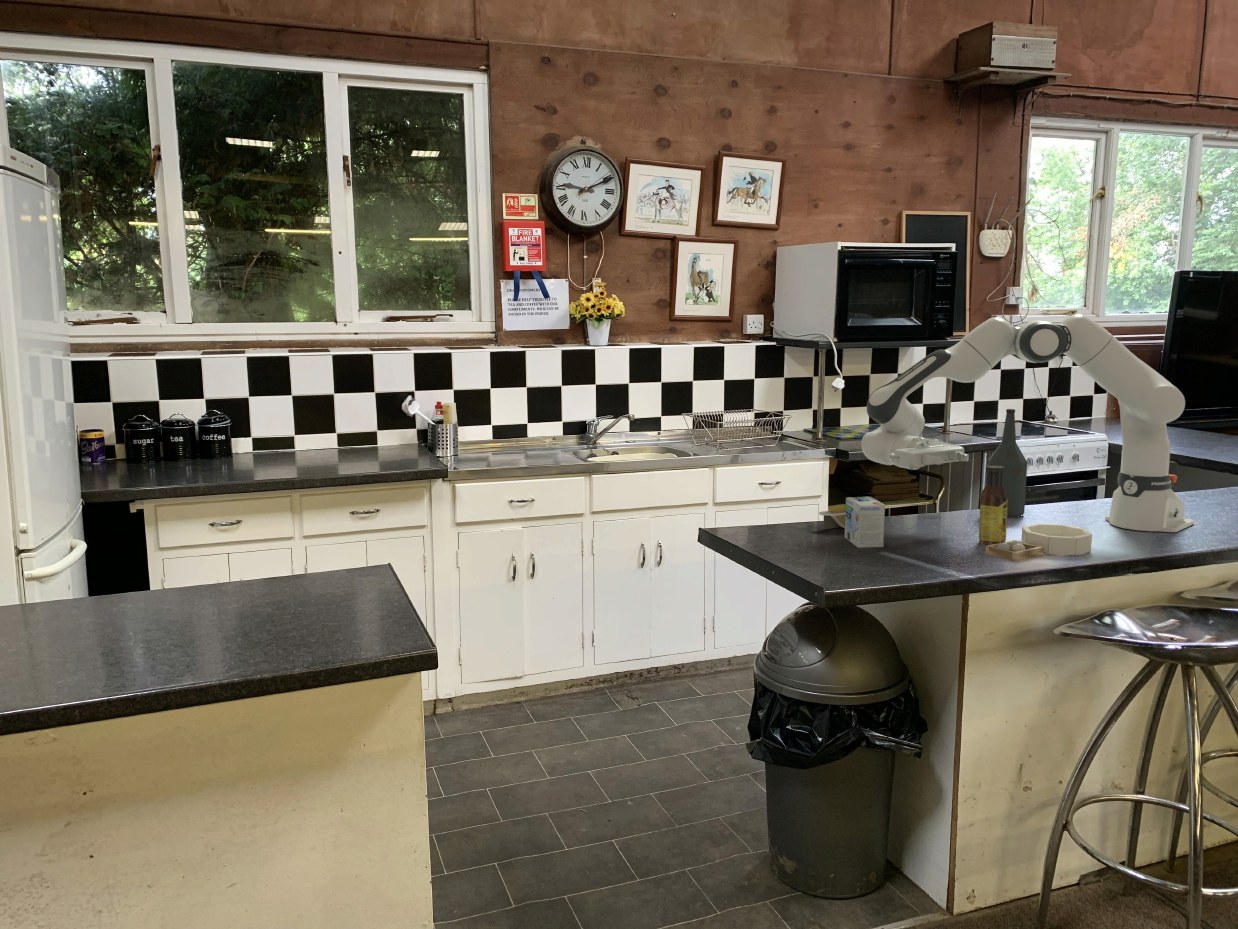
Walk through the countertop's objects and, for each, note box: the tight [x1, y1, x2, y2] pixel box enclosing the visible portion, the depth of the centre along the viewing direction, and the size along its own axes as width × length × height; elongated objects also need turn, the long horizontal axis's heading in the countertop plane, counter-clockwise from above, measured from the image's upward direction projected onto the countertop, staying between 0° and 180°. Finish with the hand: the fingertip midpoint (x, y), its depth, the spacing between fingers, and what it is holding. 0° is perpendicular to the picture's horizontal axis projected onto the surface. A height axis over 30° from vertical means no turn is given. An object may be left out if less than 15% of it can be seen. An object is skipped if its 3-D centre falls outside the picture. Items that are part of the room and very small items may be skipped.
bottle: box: [987, 408, 1028, 519], centre depth 263 cm, size 10×10×30 cm
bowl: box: [1020, 523, 1093, 556], centre depth 224 cm, size 14×14×5 cm
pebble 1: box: [997, 542, 1010, 551], centre depth 218 cm, size 3×3×3 cm
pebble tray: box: [985, 539, 1044, 563], centre depth 218 cm, size 10×8×3 cm
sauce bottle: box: [978, 465, 1008, 547], centre depth 228 cm, size 7×6×20 cm
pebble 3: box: [1012, 543, 1026, 552], centre depth 217 cm, size 3×3×3 cm
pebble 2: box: [1010, 539, 1023, 550], centre depth 220 cm, size 3×3×3 cm
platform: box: [818, 503, 846, 530], centre depth 250 cm, size 12×18×7 cm, turn 119°
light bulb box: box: [844, 496, 886, 549], centre depth 234 cm, size 11×7×11 cm, turn 5°
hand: (954, 459), depth 236 cm, fingers open, 8 cm apart
